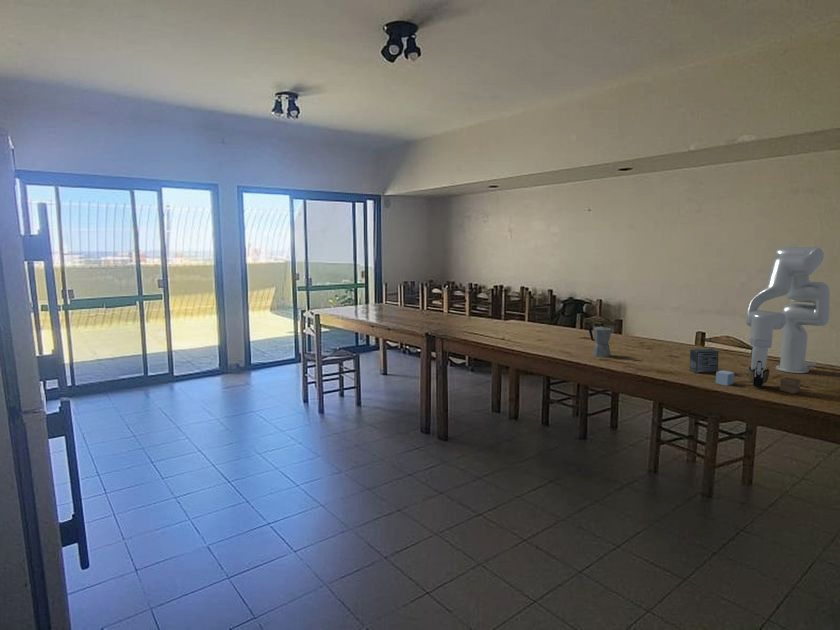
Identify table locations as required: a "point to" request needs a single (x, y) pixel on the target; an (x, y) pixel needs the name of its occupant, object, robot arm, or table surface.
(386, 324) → the table surface
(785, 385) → the walnut cube
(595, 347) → the coffeepot
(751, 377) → the cup
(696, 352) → the small box
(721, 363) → the table surface
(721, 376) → the slate-blue cube
